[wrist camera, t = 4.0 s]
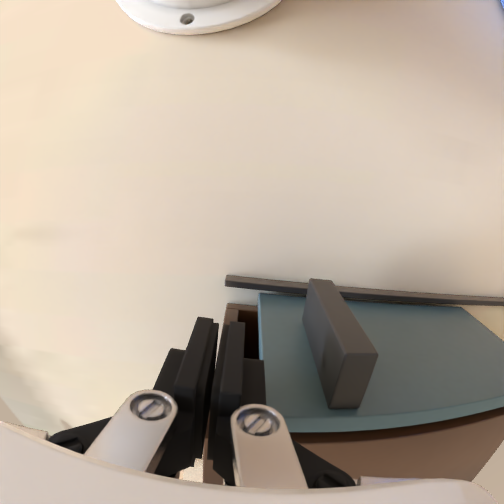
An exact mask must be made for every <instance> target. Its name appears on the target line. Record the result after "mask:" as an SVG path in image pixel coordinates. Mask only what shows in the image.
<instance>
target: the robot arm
mask: <svg viewBox="0 0 504 504" xmlns="http://www.w3.org/2000/svg"><path fill="white" fill-rule="evenodd" d="M116 1H117V2H118V4H119V5H120V7H121V8H122V9H123V11H124V12H125V13H126V14H127V15H128V16H129V17H130V18H131V19H133V20H134V21H136V22H137V23H139V24H141V25H142V26H144V27H147V28H150V29H152V30H155V31H158V32H164V33H170V34H183V35H196V34H205V33H214V32H218V31H222V30H227V29H231V28H234V27H237V26H239V25H242V24H245V23H248V22H250V21H252V20H254V19H256V18H258V17H260V16H262V15H263V14H265V13H267V12H268V11H269V10H271V9H272V8H273V7H275V6H276V5H277V4H279V3H280V2H281V0H116ZM188 22H192V23H190V24H187V23H188ZM186 24H187V25H186ZM218 329H219V323H213V319H211V318H204V317H198V318H197V321H196V323H195V326H194V329H193V332H192V334H191V337H190V340H189V343H188V346H187V348H186V350H180V349H173V348H171V349H170V351H169V353H168V355H167V357H166V360H165V362H164V364H163V367H162V369H161V371H160V374H159V376H158V378H157V381H156V383H155V385H154V388H153V390H142V391H137V392H135V393H133V394H131V395H130V396H129V397H128V398H127V399H126V400H125V402H124V403H123V404H122V406H121V407H120V408H119V409H118V411H117V412H116V413H115V415H114V416H113V417H110V418H106V419H103V420H100V421H96V422H93V423H90V424H86V425H83V426H79V427H75V428H72V429H68V430H64V431H61V432H58V433H56V434H54V435H53V436H50V435H49V434H48V432H47V431H42V430H37V429H33V428H28V427H24V426H20V425H15V424H12V423H8V422H4V421H0V504H498V503H497V501H496V500H495V499H494V497H493V496H492V495H491V494H490V493H489V492H488V491H487V490H486V489H485V488H483V487H482V486H480V485H478V484H476V483H473V482H470V481H465V480H458V479H445V478H436V479H419V478H383V477H367V476H360V478H359V479H352V477H351V476H350V475H348V474H347V473H346V472H344V471H343V470H341V469H339V468H337V467H336V466H334V465H332V464H331V463H329V462H327V461H326V460H324V459H322V458H321V457H319V456H318V455H316V454H314V453H313V452H311V451H310V450H308V449H306V448H305V447H303V446H302V445H300V444H299V443H297V442H296V441H294V440H293V439H291V437H290V434H289V431H288V428H287V425H286V422H285V419H284V418H283V416H282V415H281V414H280V413H279V412H278V411H277V410H275V409H273V408H271V407H269V406H266V387H265V368H264V360H258V359H248V358H244V339H245V323H244V322H236V321H230V325H227V324H223V330H222V335H221V341H220V346H219V351H218V357H217V362H216V352H217V340H218ZM215 363H216V368H215ZM209 412H210V417H209ZM208 417H209V433H208V449H207V460H213V470H214V471H215V472H216V473H217V474H219V475H220V476H221V477H222V478H223V485H216V484H208V483H200V482H193V481H187V480H181V479H179V477H180V471H182V470H184V469H186V468H188V467H190V466H191V467H194V462H195V458H199V459H202V454H203V448H204V442H205V436H206V429H207V423H208Z"/></svg>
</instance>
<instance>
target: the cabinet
mask: <svg viewBox="0 0 504 504" xmlns="http://www.w3.org/2000/svg"><path fill="white" fill-rule="evenodd" d="M308 284H309V283H298V282H288V281H278V280H268V279H258V278H248V277H239V276H230V275H227V276H226V279H225V286H227V287H237V288H246V289H256V290H266V291H276V292H286V293H297V294H307V290H308ZM335 287H336V288H337V290H338V291H339V293H340V294H341V296H342V297H344V298H358V299H372V300H386V301H402V302H420V303H439V304H461V305H490V306H504V298H498V297H479V296H462V295H446V294H431V293H417V292H403V291H390V290H377V289H365V288H353V287H342V286H335ZM230 321H236V322H244V323H245V339H244V358H248V359H258V360H259V330H258V306H249V305H240V304H230V303H227V307H226V312H225V318H224V323H223V324H227V325H230ZM222 330H223V329H222ZM221 335H222V334H221ZM220 341H221V340H220ZM219 346H220V345H219ZM209 417H210V412H209ZM209 417H208V423H207V429H206V436H205V442H204V448H203V483H208V484H216V485H223V478H222V477H221V476H220V475H219V474H217V473H216V472H215V471H214V470H213V460H207V449H208V433H209ZM289 434H290V437H291V439H293V440H294V441H296V442H297V443H299V444H300V445H302V446H303V447H305V448H306V449H308V450H310V451H311V452H313V453H314V454H316V455H318V456H319V457H321V458H322V459H324V460H326V461H327V462H329V463H331V464H332V465H334V466H336V467H337V468H339V469H341V470H343V471H344V472H346V473H347V474H348V475H350V476H351V477H352V479H359V478H360V476H367V477H383V478H419V479H436V478H445V479H458V480H465V481H470V482H471V481H472V480H473V479H474V478H475V476H476V475H477V474H478V473H479V472H480V470H481V469H482V468H483V467H484V465H485V464H486V463H487V462H488V460H489V459H490V458H491V456H492V455H493V454H494V452H495V451H496V450H497V448H498V447H499V446H500V444H501V443H502V441H503V440H504V406H503V407H500V408H496V409H492V410H489V411H485V412H481V413H476V414H472V415H468V416H463V417H458V418H454V419H448V420H443V421H438V422H432V423H425V424H419V425H412V426H404V427H396V428H387V429H376V430H363V431H346V432H289Z"/></svg>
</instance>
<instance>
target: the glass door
mask: <svg viewBox="0 0 504 504" xmlns="http://www.w3.org/2000/svg"><path fill="white" fill-rule="evenodd" d="M258 330H259V360H264V368H265V387H266V406H269V407H271V408H273V409H275V410H277V411H278V412H279V413H280V414H281V415H282V416H283V418H284V419H285V422H286V425H287V428H288V431H289V432H346V431H363V430H376V429H387V428H396V427H404V426H412V425H419V424H425V423H432V422H438V421H443V420H448V419H454V418H458V417H463V416H468V415H472V414H476V413H481V412H485V411H489V410H492V409H496V408H500V407H503V406H504V341H502V340H501V339H500V338H499V337H498V336H496V335H495V334H494V333H493V332H492V331H490V330H489V329H488V328H487V327H486V326H484V325H483V324H482V323H481V322H479V321H478V320H477V319H476V318H474V317H473V316H472V315H471V314H469V313H468V312H467V311H465V310H464V309H463V308H462V307H452V306H429V305H409V304H392V303H376V302H361V301H347V300H344V299H343V297H342V296H341V294H340V293H339V291H338V290H337V288H336V287H335V285H334V284H333V282H332V281H331V280H321V279H310V280H309V284H308V290H307V296H306V297H299V296H288V295H277V294H267V293H259V297H258Z"/></svg>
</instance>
